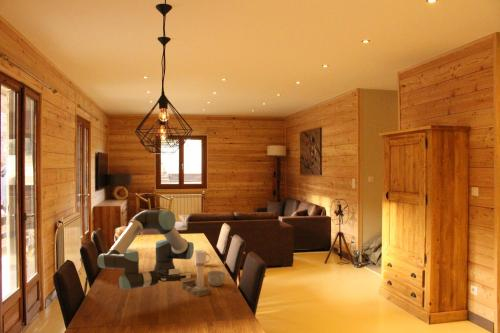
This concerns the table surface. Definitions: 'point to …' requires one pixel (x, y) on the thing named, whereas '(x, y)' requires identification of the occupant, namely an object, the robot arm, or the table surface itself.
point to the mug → (200, 257)
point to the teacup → (216, 278)
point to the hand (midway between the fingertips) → (184, 272)
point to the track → (190, 288)
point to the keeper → (200, 277)
